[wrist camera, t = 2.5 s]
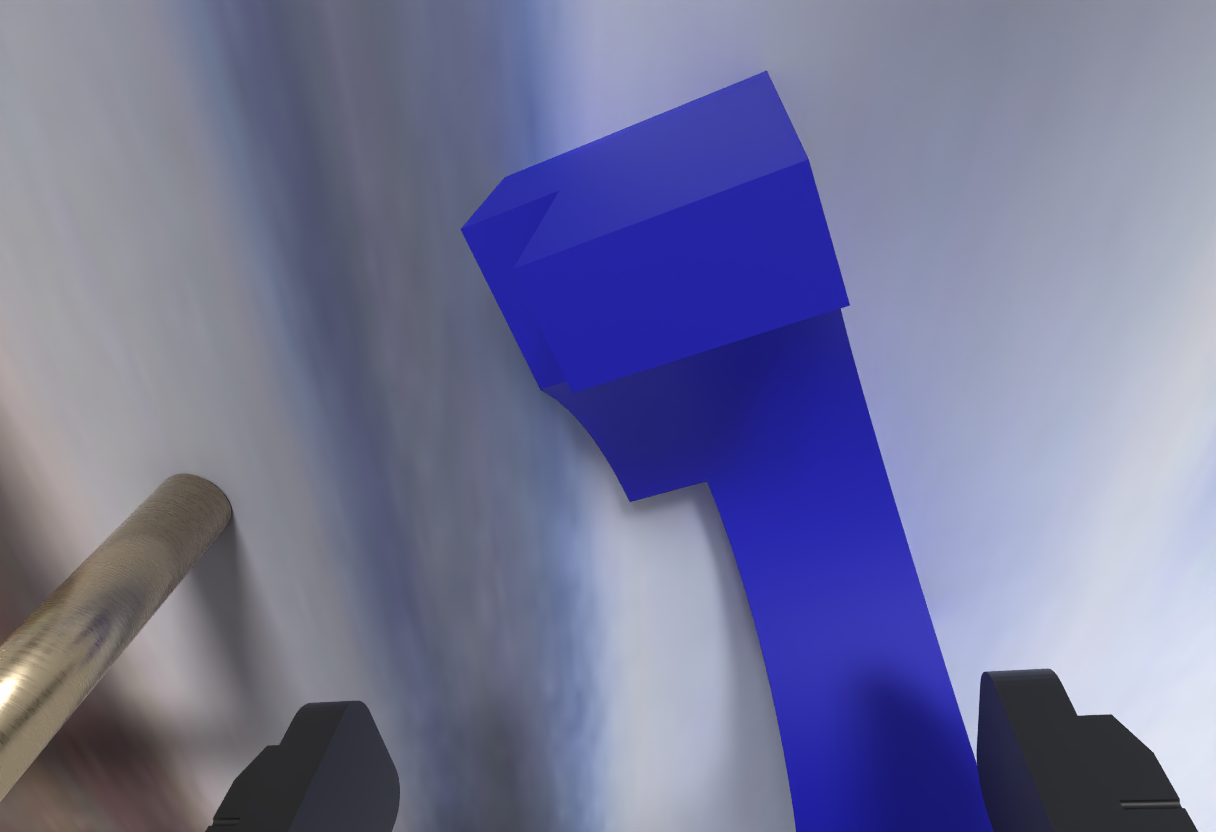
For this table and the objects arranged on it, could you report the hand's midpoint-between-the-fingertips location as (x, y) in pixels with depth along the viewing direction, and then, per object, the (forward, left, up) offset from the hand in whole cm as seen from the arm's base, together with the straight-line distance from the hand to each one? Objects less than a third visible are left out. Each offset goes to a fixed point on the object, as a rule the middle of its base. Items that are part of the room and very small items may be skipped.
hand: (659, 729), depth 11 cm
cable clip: (-1, -1, -7) cm, 7 cm away
